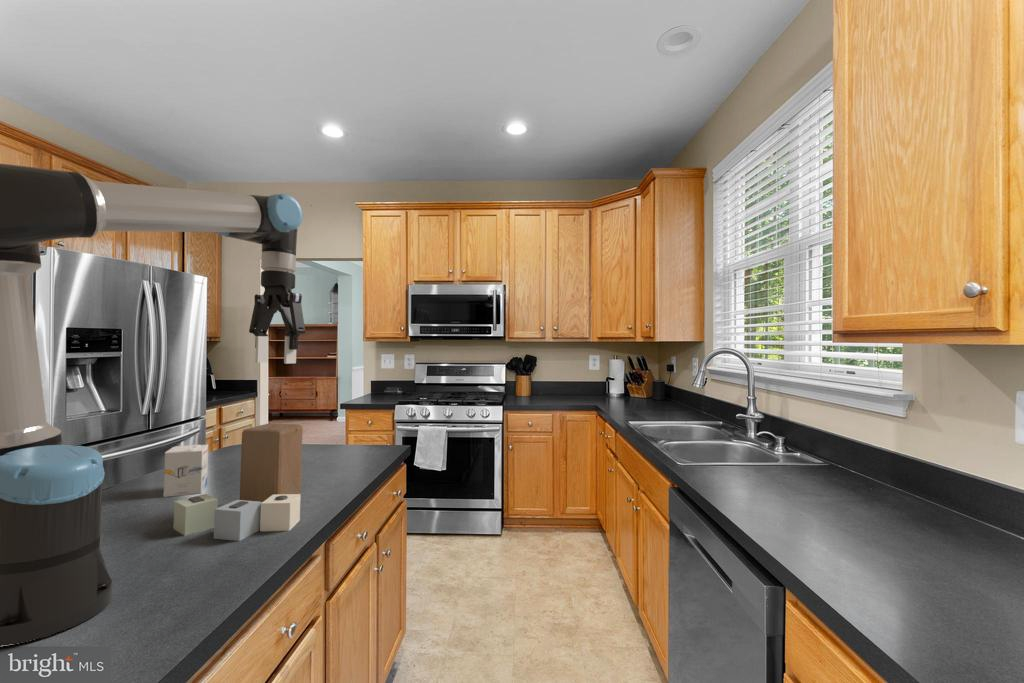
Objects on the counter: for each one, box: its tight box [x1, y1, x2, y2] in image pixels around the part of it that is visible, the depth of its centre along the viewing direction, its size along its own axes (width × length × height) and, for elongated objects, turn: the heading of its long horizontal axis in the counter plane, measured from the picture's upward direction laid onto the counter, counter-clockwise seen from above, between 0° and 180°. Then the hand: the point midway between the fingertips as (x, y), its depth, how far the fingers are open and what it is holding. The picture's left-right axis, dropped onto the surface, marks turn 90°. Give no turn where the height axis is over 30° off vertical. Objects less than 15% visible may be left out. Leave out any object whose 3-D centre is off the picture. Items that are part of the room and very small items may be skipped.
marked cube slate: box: [213, 499, 262, 542], centre depth 94 cm, size 6×6×6 cm
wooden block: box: [239, 423, 304, 502], centre depth 108 cm, size 10×10×20 cm
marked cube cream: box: [259, 493, 302, 532], centre depth 98 cm, size 6×6×6 cm
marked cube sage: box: [173, 493, 219, 537], centre depth 96 cm, size 6×6×6 cm
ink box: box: [162, 443, 209, 498], centre depth 121 cm, size 9×8×12 cm
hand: (275, 362), depth 109 cm, fingers open, 9 cm apart
